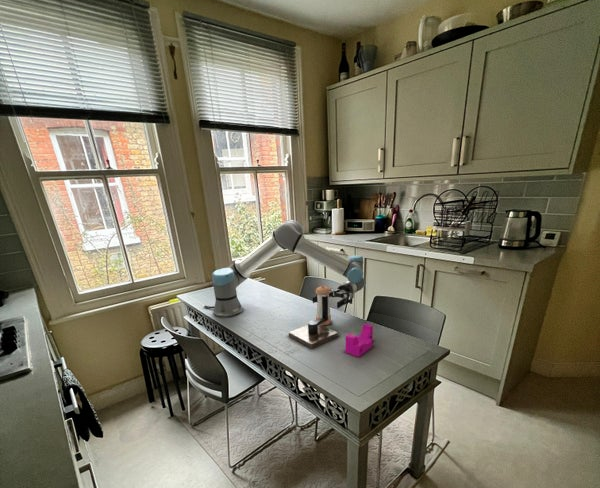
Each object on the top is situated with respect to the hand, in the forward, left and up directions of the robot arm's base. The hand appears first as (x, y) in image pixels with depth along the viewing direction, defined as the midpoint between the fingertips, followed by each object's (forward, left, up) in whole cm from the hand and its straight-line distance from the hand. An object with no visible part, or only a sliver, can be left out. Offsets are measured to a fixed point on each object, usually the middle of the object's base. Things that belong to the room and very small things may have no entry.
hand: (325, 302), depth 149 cm
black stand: (+3, -7, -10) cm, 13 cm away
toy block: (+26, -4, -12) cm, 29 cm away
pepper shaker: (-4, +2, -2) cm, 5 cm away
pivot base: (+4, -12, -12) cm, 17 cm away
